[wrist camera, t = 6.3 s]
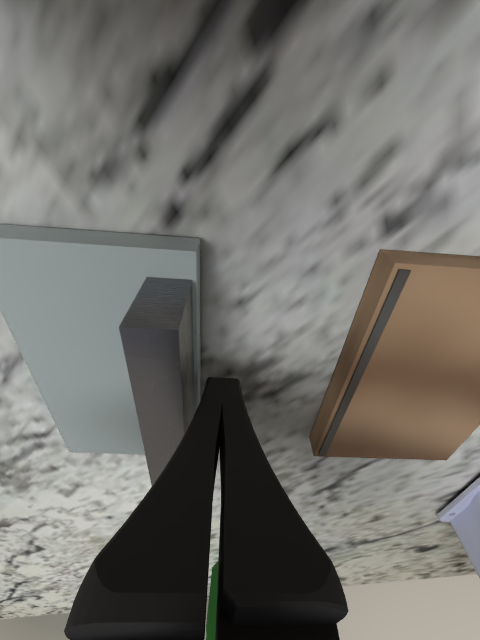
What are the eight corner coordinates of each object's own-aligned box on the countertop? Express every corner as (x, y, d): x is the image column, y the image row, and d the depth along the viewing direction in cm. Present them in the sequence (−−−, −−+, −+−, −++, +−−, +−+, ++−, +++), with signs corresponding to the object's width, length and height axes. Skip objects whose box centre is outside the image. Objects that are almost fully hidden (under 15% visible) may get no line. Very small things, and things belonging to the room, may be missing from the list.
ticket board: (435, 441, 18) (447, 461, 17) (309, 437, 17) (314, 457, 16) (582, 264, 11) (619, 279, 10) (380, 249, 11) (396, 264, 9)
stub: (200, 436, 17) (192, 512, 14) (79, 432, 17) (40, 509, 13) (200, 238, 10) (182, 297, 7) (-9, 223, 10) (-135, 278, 6)
